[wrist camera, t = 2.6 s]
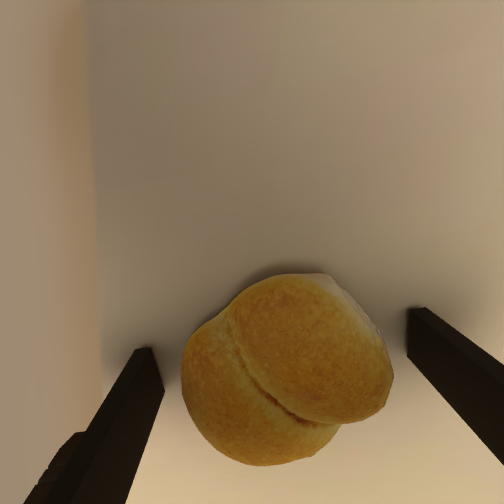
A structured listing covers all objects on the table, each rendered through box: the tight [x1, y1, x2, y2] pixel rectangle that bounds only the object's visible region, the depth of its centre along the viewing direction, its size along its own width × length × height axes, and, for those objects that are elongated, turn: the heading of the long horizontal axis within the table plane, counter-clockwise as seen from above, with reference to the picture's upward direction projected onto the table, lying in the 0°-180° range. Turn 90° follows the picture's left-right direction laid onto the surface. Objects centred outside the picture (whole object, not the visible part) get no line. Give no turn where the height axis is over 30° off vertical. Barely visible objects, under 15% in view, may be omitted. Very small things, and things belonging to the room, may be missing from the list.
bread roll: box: [181, 273, 394, 466], centre depth 11 cm, size 8×9×4 cm
